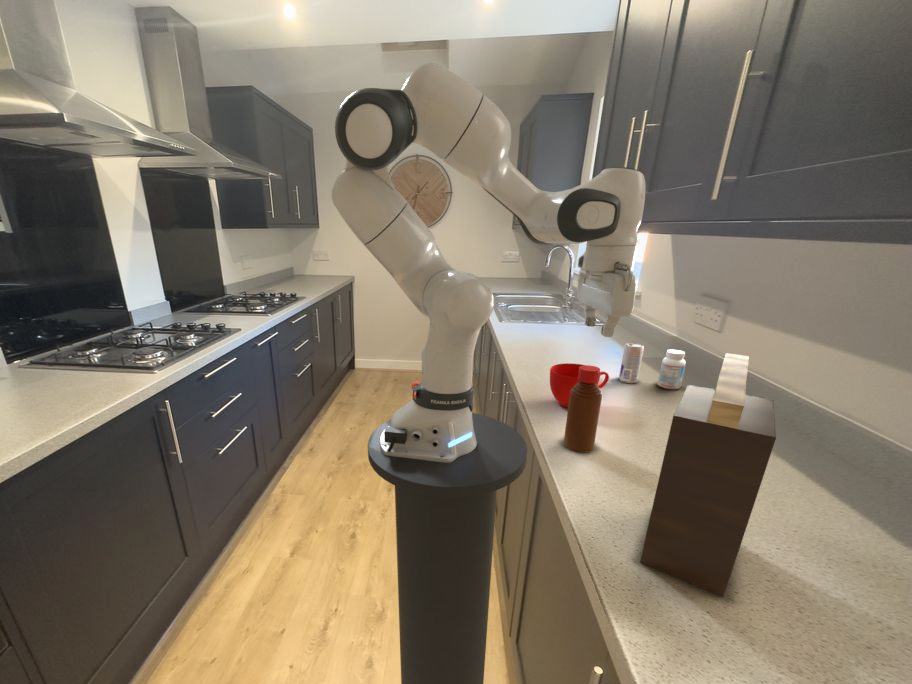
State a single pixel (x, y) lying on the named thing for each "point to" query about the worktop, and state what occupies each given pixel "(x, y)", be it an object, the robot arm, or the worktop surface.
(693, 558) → the pedestal
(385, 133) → the robot arm
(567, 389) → the ceramic cup
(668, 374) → the pill bottle
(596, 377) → the cap
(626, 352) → the energy drink
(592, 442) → the bottle
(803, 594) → the worktop surface
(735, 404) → the bar
